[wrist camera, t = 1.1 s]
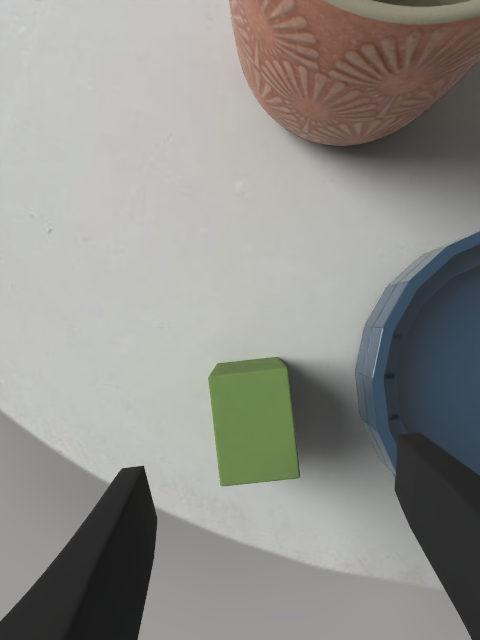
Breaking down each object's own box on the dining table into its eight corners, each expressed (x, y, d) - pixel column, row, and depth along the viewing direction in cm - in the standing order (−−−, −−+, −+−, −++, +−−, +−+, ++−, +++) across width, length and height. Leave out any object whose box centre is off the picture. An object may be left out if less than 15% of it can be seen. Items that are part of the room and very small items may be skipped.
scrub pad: (288, 442, 22) (300, 478, 17) (226, 449, 22) (220, 487, 17) (278, 356, 22) (288, 367, 17) (216, 363, 22) (208, 376, 17)
